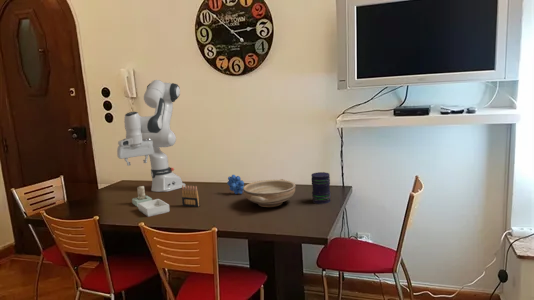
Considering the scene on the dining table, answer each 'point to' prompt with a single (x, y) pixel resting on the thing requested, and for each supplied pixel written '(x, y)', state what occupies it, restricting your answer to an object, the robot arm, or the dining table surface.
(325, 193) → the storage jar
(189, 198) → the ammunition clip
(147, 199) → the holder
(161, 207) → the tray
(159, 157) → the robot arm
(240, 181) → the grapes
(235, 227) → the dining table surface
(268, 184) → the ceramic bowl
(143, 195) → the dowel
